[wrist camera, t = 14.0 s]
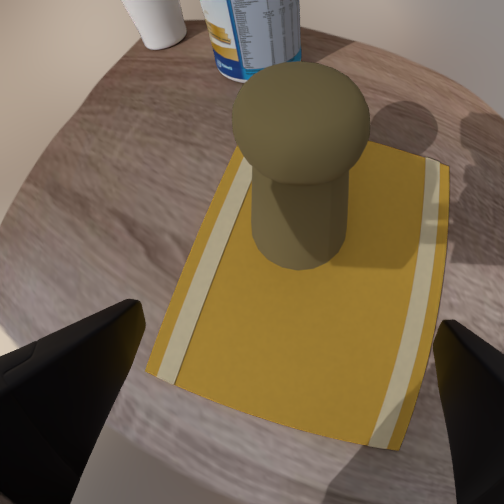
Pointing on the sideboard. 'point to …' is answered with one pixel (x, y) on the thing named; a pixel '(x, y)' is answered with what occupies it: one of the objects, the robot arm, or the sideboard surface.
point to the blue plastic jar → (252, 34)
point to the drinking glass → (157, 21)
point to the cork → (300, 158)
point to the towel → (316, 307)
